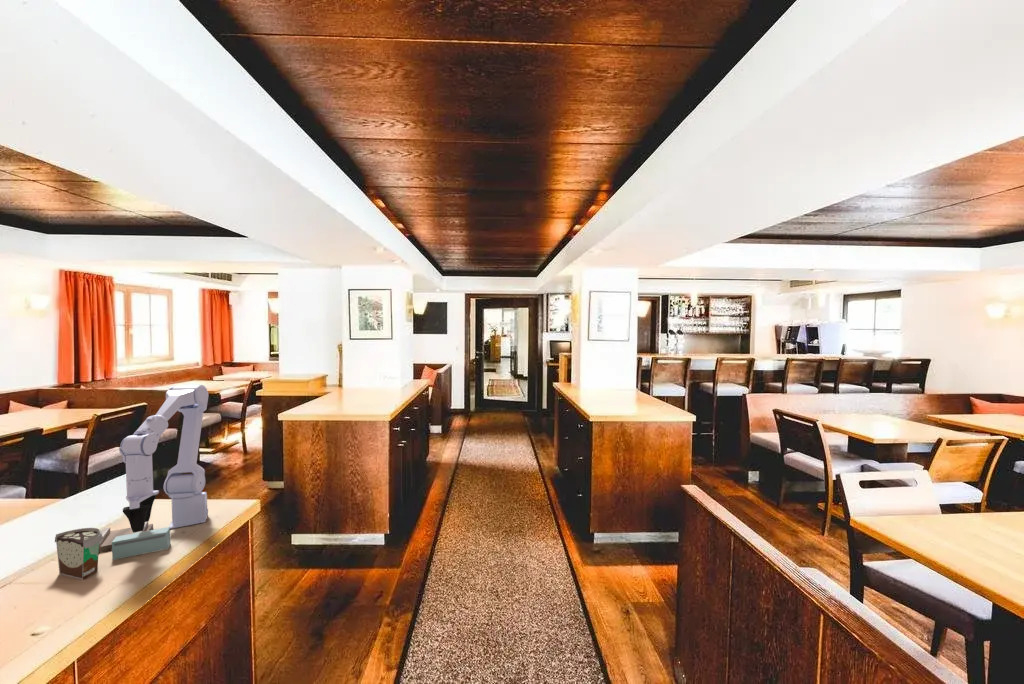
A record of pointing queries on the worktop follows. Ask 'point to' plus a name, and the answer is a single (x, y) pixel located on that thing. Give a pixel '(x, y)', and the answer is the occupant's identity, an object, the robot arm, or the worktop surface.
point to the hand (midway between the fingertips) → (141, 526)
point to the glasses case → (140, 543)
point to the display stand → (110, 535)
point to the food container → (78, 552)
